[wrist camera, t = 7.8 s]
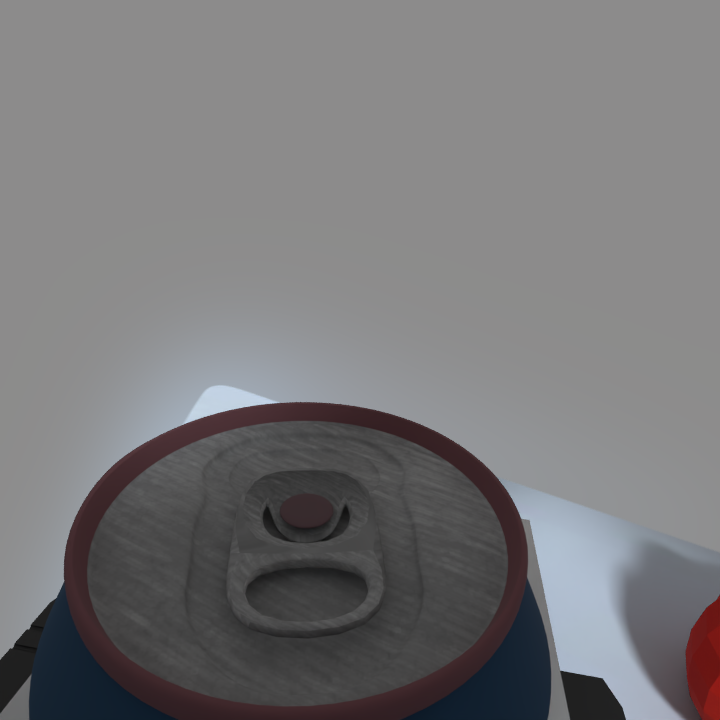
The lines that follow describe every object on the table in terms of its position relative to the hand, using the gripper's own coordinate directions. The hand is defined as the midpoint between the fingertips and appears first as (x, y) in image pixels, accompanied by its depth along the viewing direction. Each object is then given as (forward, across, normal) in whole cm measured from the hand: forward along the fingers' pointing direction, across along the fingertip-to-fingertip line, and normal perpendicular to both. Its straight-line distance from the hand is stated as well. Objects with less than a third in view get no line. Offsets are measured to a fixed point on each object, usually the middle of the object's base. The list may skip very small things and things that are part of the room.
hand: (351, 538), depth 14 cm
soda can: (-5, 0, -7) cm, 9 cm away
